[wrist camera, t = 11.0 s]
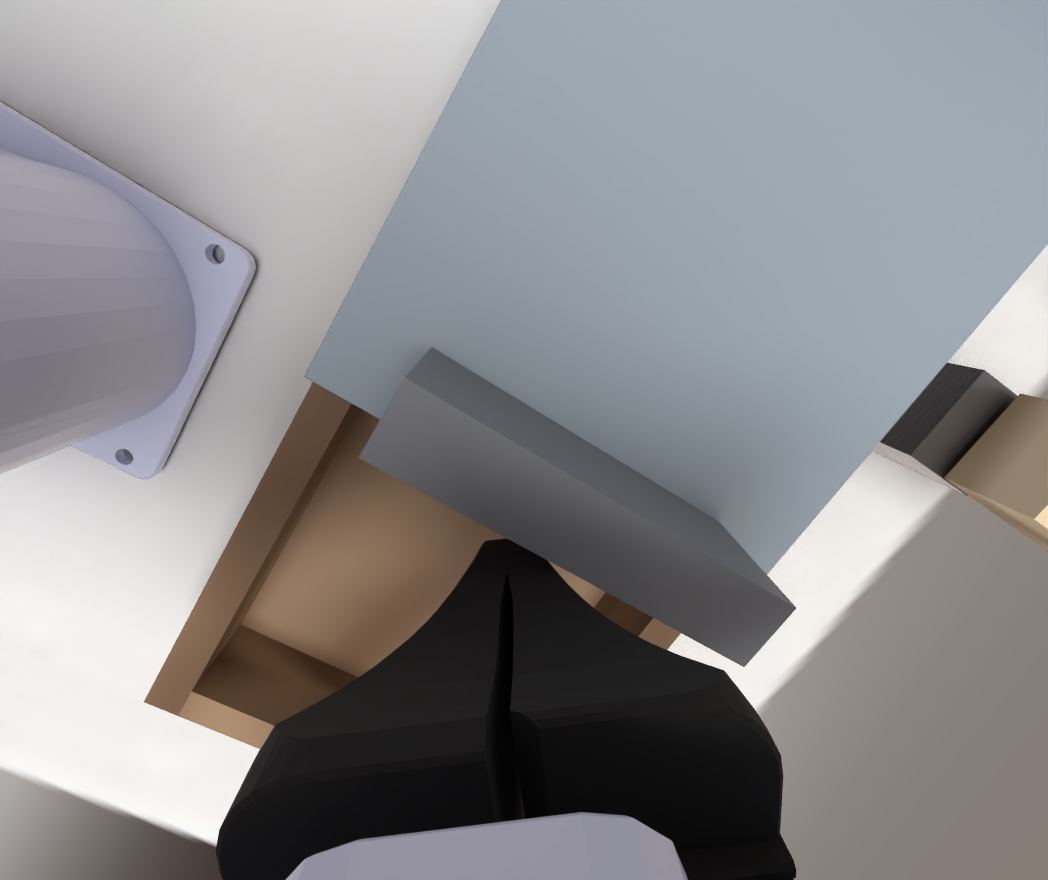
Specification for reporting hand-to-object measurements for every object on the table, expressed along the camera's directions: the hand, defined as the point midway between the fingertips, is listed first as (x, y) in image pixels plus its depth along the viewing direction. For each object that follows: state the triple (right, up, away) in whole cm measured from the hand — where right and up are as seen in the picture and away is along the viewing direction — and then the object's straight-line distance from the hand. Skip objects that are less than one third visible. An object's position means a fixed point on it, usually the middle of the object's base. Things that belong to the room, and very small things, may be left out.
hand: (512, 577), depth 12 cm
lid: (+5, +8, 0) cm, 10 cm away
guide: (+11, +5, +5) cm, 13 cm away
